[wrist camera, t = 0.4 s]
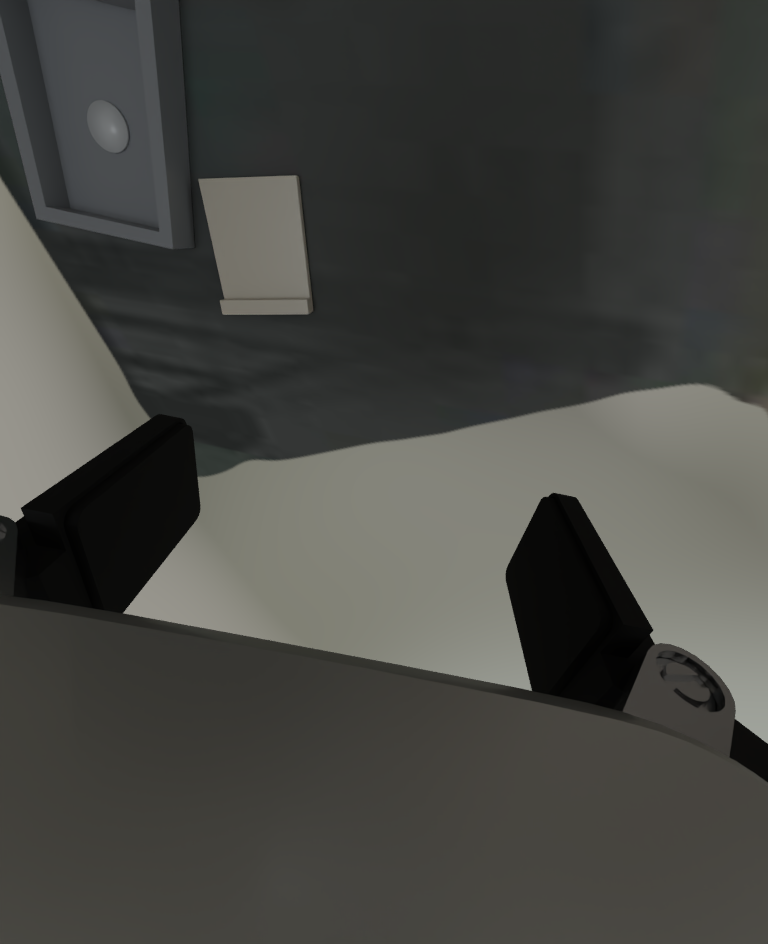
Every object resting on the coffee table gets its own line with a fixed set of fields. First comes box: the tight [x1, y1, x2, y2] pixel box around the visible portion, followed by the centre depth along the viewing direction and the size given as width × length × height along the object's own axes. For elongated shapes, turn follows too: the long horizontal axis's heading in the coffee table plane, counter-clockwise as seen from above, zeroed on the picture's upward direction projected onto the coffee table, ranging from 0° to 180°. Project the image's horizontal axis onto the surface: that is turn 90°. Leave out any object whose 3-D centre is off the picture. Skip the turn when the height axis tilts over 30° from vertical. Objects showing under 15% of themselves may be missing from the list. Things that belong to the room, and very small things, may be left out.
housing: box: [0, 0, 195, 249], centre depth 24 cm, size 24×11×8 cm, turn 169°
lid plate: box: [198, 175, 313, 315], centre depth 33 cm, size 10×8×2 cm
